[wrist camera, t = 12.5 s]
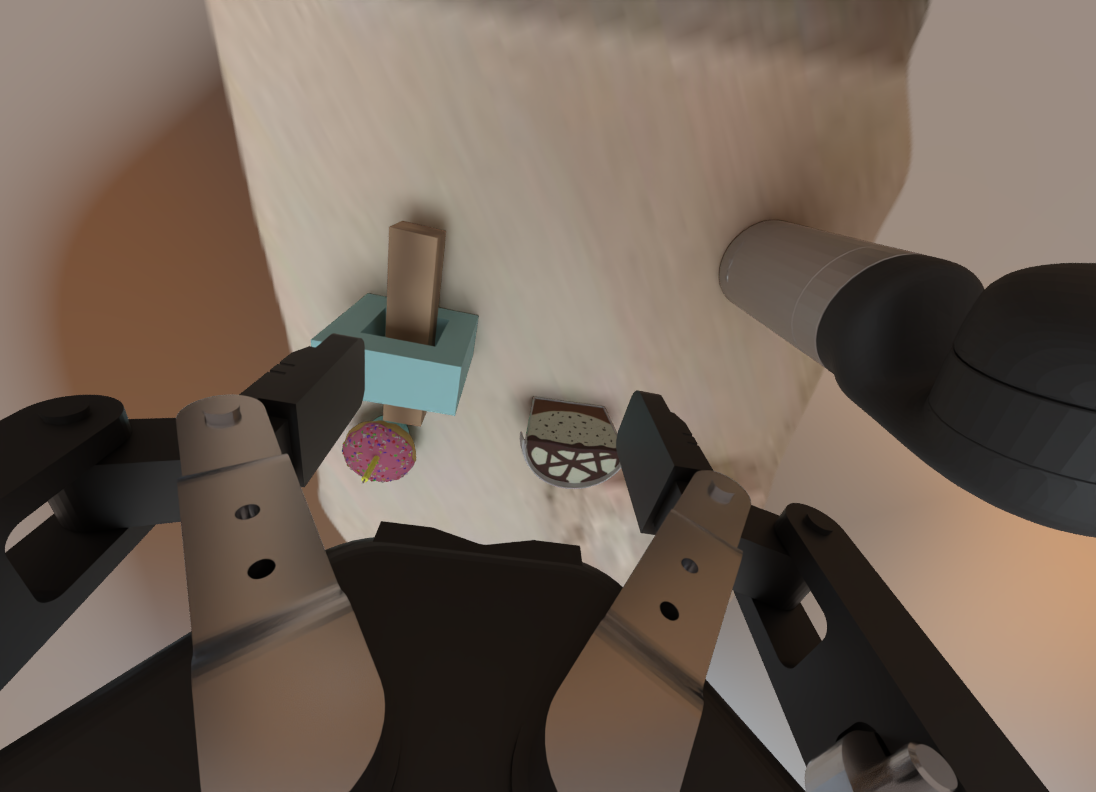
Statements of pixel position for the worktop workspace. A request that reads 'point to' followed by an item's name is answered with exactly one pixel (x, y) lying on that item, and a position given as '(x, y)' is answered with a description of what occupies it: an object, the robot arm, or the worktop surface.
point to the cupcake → (379, 450)
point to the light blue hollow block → (409, 357)
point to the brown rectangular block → (413, 295)
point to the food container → (570, 443)
